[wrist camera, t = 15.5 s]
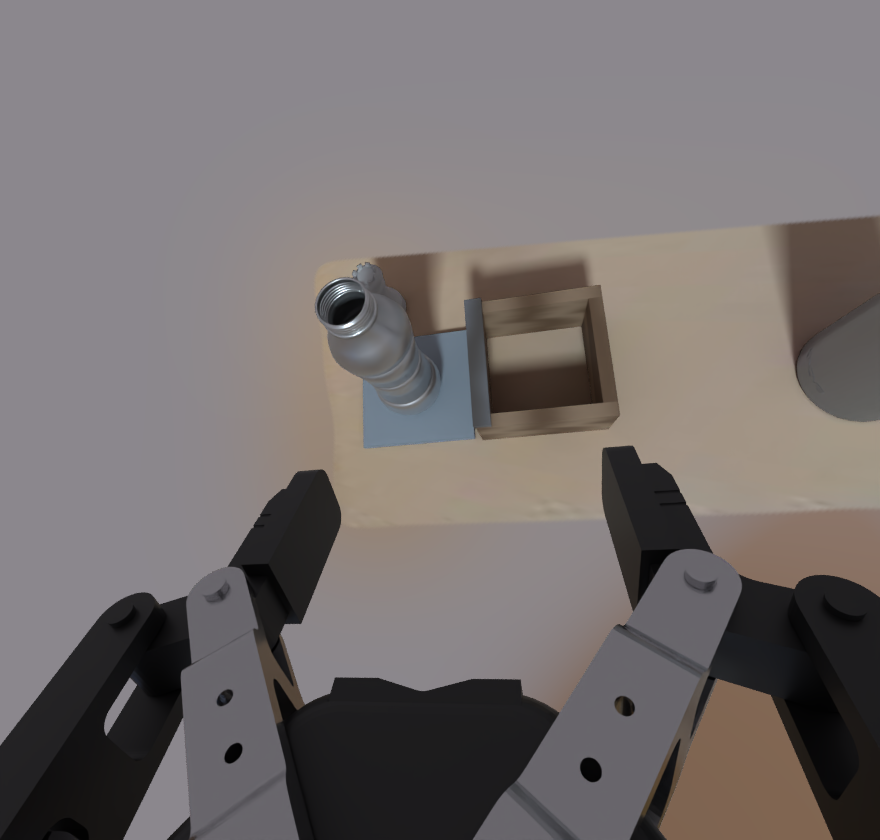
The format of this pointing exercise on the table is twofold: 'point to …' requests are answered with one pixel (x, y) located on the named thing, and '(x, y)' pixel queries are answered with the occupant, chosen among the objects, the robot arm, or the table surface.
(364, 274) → the rook chess piece
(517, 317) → the holder
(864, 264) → the table surface
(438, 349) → the mat
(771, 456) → the table surface
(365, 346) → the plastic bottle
